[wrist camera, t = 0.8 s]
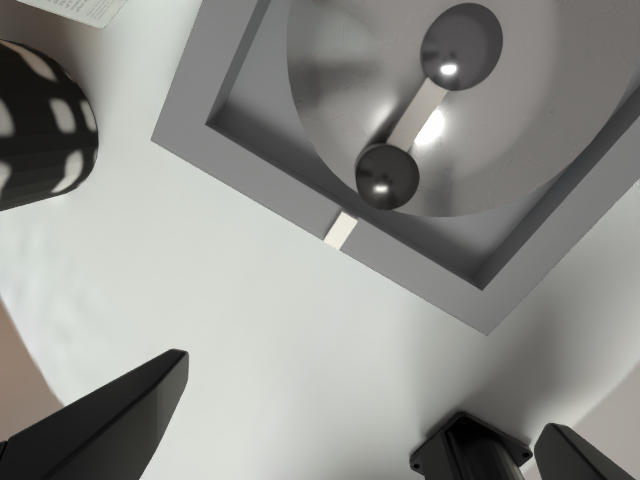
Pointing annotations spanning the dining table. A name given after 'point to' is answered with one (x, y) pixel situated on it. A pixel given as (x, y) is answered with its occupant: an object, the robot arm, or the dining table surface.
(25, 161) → the spotted tube
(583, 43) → the dial
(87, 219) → the dining table surface
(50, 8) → the small box
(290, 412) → the dining table surface
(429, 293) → the grey square tray
